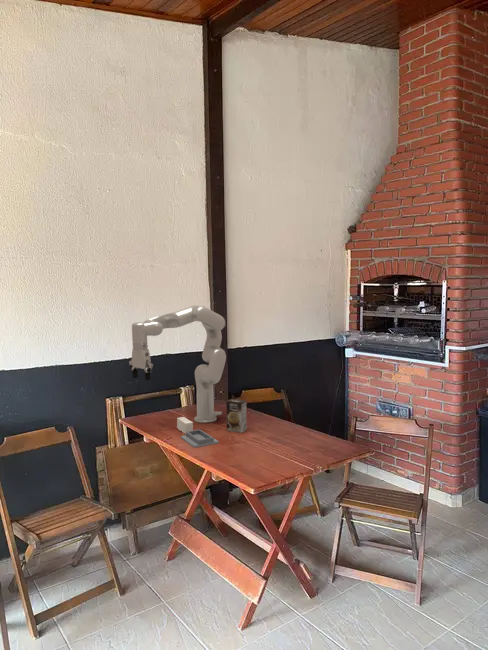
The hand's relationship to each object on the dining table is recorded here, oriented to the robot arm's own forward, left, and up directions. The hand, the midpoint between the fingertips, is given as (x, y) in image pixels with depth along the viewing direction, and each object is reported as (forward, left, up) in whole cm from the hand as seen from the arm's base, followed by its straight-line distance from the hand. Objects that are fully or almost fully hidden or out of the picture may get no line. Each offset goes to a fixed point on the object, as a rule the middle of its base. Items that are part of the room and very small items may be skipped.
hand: (141, 378), depth 275 cm
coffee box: (-44, +23, -29) cm, 57 cm away
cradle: (-20, +28, -29) cm, 45 cm away
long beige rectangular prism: (-20, +10, -29) cm, 36 cm away
